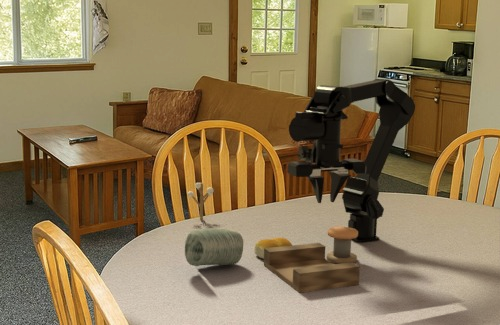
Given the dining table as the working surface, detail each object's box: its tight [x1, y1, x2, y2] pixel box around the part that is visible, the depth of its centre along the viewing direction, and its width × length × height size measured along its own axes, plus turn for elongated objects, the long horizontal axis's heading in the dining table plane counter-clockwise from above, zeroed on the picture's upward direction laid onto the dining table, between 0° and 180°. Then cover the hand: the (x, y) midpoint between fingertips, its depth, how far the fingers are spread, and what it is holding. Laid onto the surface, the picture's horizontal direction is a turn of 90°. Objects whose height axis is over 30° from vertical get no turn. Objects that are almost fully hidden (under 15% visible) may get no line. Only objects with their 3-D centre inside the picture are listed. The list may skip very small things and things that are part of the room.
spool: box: [184, 227, 244, 267], centre depth 149 cm, size 14×10×10 cm
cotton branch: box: [187, 182, 215, 221], centre depth 185 cm, size 7×6×12 cm
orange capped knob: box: [326, 226, 358, 264], centre depth 156 cm, size 7×7×7 cm
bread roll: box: [254, 237, 293, 260], centre depth 158 cm, size 8×9×4 cm
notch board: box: [263, 242, 361, 293], centre depth 146 cm, size 14×18×4 cm
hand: (325, 202), depth 162 cm, fingers open, 3 cm apart
